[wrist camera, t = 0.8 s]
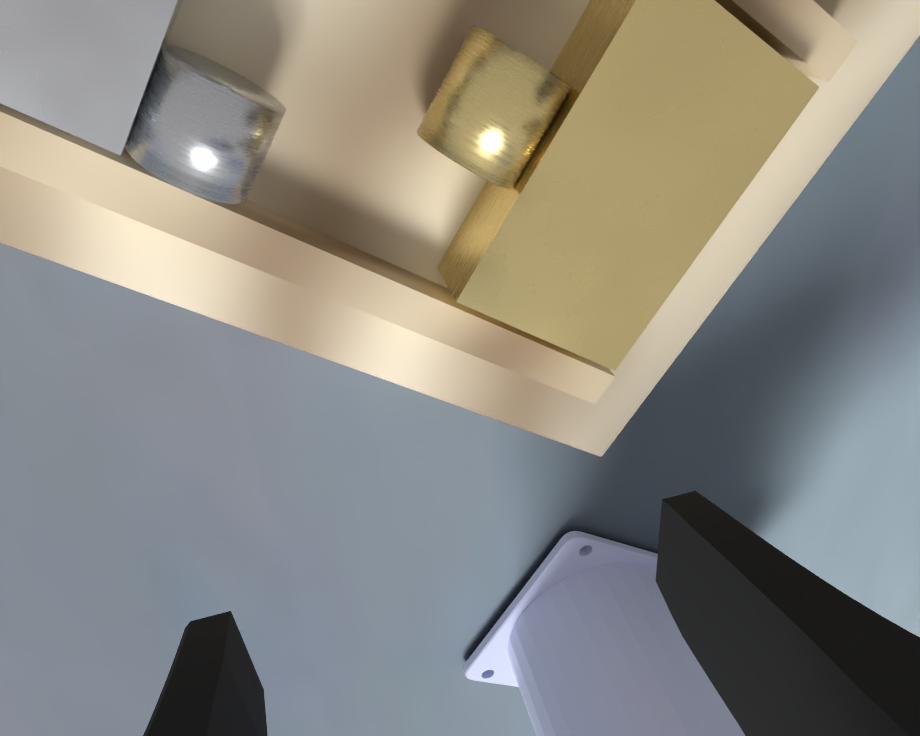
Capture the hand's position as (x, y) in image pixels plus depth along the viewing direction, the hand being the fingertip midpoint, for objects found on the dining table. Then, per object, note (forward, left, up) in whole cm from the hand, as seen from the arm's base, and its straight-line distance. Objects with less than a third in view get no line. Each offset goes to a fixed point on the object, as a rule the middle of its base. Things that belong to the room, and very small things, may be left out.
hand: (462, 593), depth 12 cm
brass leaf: (-2, -7, -9) cm, 11 cm away
